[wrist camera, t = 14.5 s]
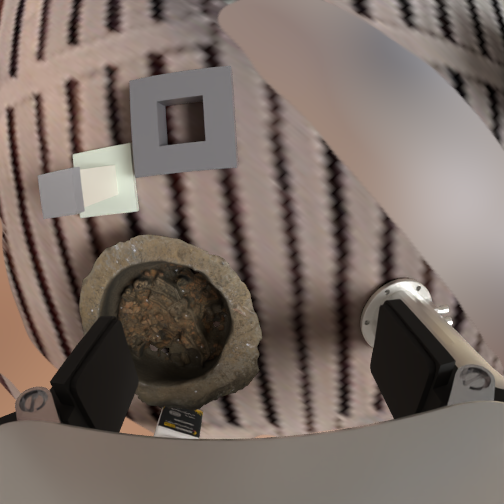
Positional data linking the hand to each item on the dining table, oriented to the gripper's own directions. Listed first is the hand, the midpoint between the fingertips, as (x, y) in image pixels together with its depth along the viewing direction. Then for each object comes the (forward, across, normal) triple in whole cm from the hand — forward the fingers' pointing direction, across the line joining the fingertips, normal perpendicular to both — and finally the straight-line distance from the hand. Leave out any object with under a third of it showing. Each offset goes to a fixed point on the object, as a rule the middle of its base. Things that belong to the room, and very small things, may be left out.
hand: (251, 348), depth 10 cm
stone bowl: (+31, +12, +14) cm, 36 cm away
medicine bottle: (+31, +15, +37) cm, 50 cm away
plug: (+30, +19, -5) cm, 35 cm away
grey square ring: (+30, +7, -11) cm, 33 cm away
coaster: (+30, +19, -5) cm, 36 cm away
